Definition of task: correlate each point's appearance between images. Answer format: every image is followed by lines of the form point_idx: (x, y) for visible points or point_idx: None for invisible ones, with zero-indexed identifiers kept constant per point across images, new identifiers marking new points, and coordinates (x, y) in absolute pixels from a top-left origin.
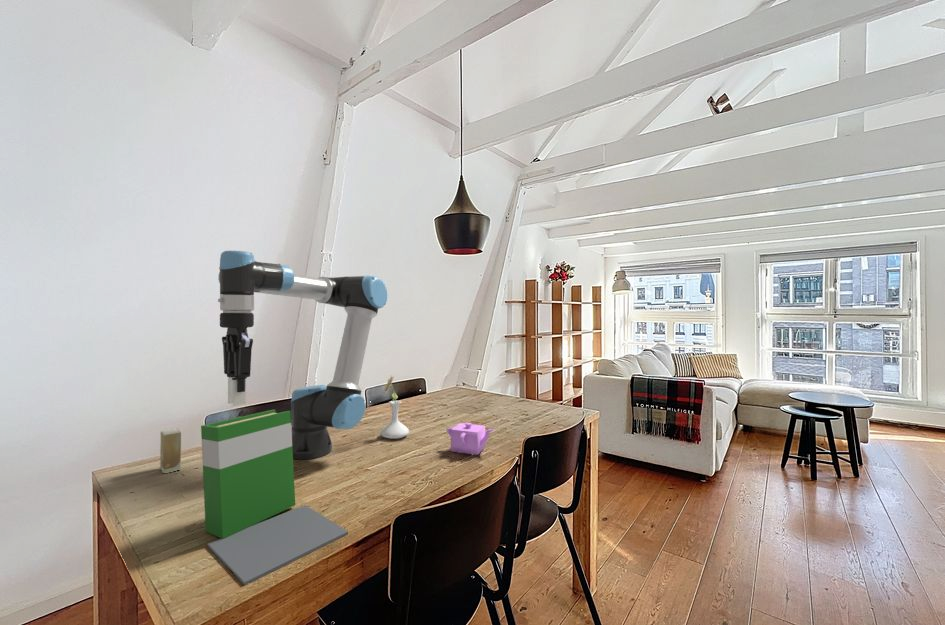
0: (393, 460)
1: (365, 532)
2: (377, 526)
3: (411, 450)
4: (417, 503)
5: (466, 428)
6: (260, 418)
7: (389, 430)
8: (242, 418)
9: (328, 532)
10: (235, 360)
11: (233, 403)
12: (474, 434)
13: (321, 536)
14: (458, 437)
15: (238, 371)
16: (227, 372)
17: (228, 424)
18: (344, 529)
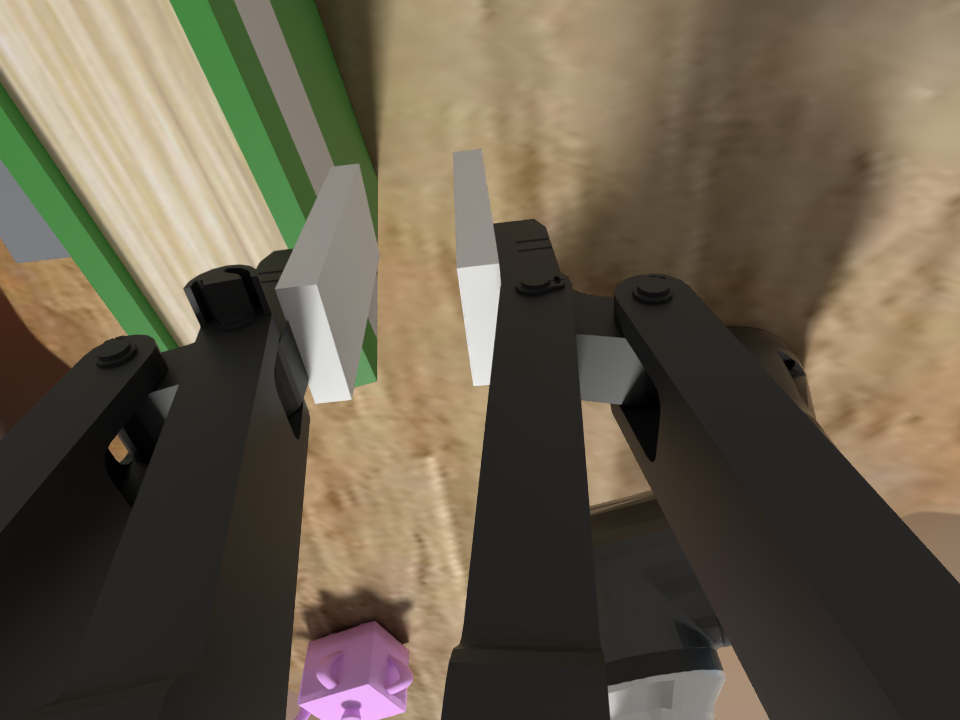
0: (435, 519)
1: (13, 296)
2: (35, 331)
3: (468, 572)
4: (123, 448)
5: (348, 703)
6: (70, 253)
7: None
8: (253, 172)
9: (32, 219)
10: (155, 518)
11: (346, 171)
12: (307, 695)
13: (14, 195)
14: (350, 668)
15: (103, 392)
16: (551, 304)
17: (137, 39)
18: (33, 260)
